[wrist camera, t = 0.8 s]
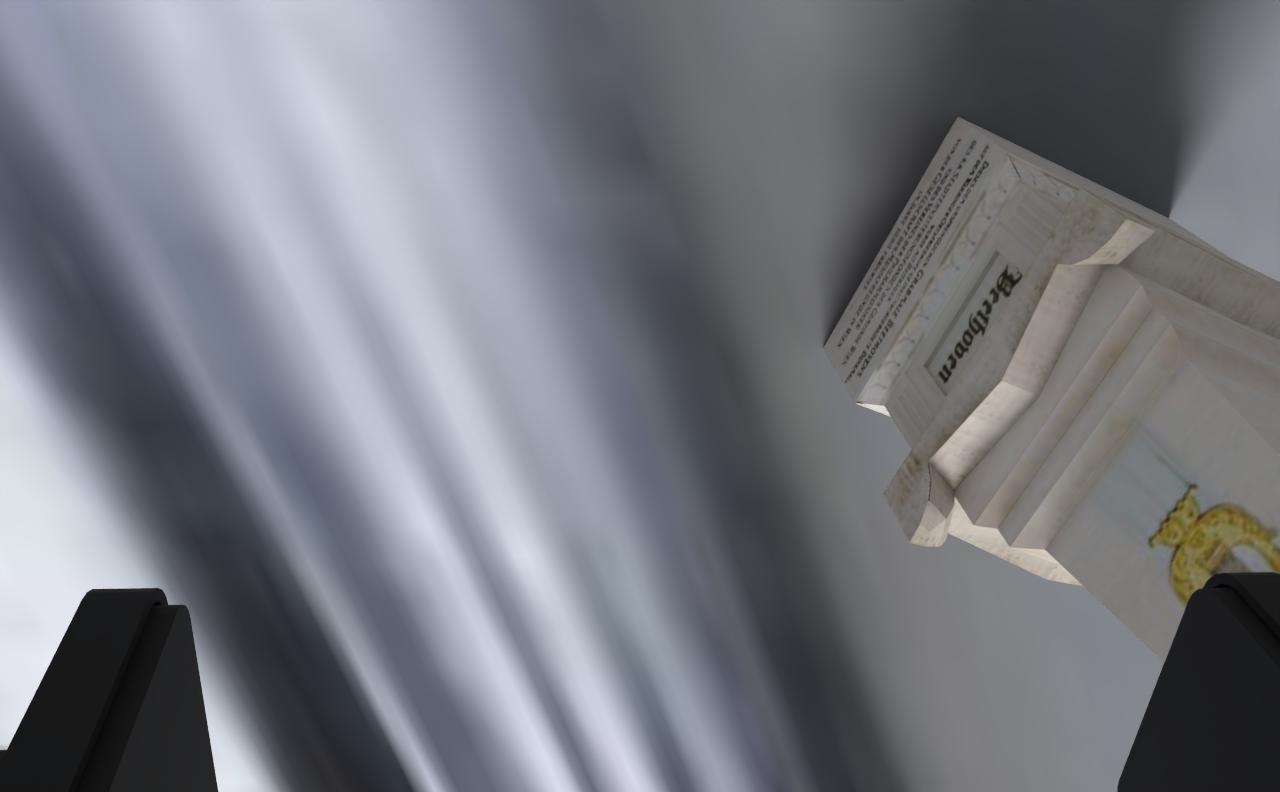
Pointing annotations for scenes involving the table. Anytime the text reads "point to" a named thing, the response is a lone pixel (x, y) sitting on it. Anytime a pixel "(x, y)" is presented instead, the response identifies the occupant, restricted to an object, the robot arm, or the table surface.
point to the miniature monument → (1071, 382)
